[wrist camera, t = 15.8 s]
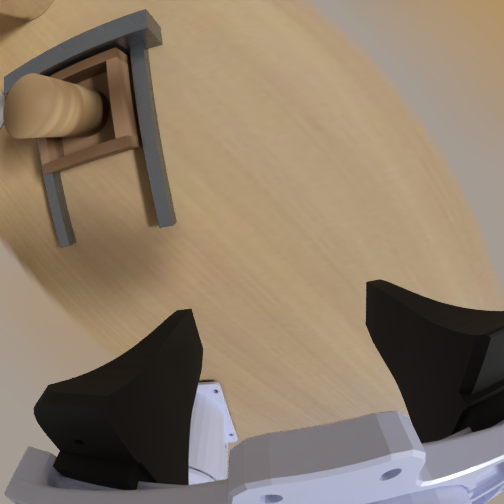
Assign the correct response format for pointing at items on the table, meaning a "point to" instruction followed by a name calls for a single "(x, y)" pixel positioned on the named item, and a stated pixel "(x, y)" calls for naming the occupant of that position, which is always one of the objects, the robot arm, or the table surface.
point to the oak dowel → (53, 109)
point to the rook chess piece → (1, 108)
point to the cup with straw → (24, 8)
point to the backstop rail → (136, 44)
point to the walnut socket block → (119, 121)
